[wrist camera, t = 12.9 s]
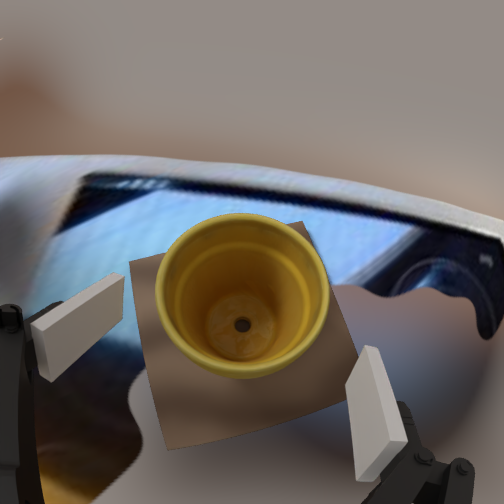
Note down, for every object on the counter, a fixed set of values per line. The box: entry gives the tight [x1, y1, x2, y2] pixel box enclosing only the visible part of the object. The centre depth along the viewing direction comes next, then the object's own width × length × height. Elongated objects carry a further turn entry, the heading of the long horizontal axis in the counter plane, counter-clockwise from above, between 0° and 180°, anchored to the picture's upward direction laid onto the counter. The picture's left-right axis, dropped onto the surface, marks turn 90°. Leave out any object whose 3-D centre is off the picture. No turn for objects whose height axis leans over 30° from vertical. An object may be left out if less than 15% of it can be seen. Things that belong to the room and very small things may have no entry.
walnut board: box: [129, 221, 359, 450], centre depth 27 cm, size 18×18×1 cm
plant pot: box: [155, 213, 330, 379], centre depth 22 cm, size 10×10×10 cm
